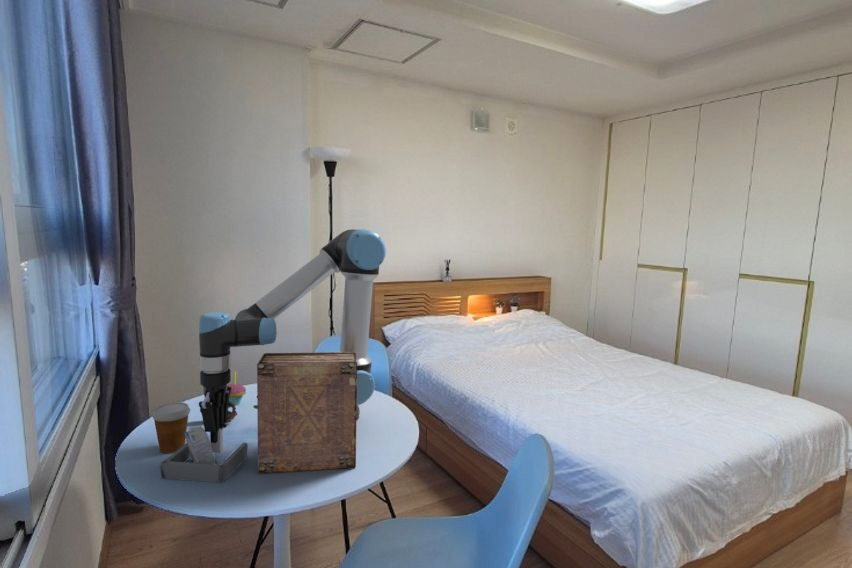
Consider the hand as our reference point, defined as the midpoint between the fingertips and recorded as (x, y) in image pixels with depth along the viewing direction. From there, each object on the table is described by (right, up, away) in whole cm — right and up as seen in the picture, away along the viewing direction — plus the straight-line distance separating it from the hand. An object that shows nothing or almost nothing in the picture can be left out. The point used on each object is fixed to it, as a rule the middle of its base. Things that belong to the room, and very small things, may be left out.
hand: (216, 451), depth 122 cm
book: (+26, -3, -1) cm, 26 cm away
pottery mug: (-10, +1, +22) cm, 24 cm away
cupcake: (-12, +3, +38) cm, 40 cm away
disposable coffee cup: (-15, -1, +4) cm, 15 cm away
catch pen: (0, -2, -4) cm, 5 cm away
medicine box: (-2, -2, -3) cm, 4 cm away
